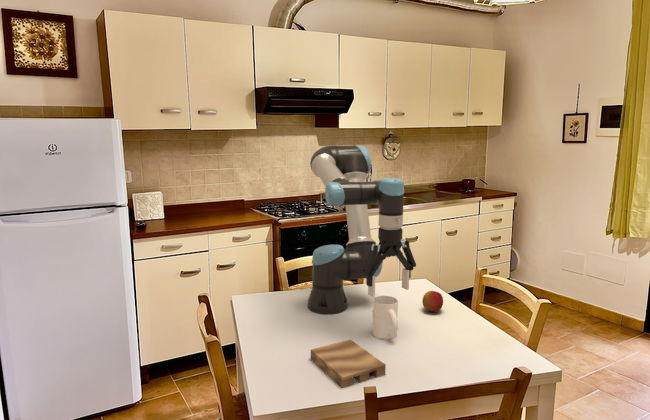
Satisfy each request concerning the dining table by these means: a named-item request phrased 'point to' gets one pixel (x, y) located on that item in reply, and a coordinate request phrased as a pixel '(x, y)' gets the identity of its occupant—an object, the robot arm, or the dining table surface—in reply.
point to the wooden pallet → (347, 362)
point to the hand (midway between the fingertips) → (388, 292)
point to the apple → (432, 301)
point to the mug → (385, 317)
